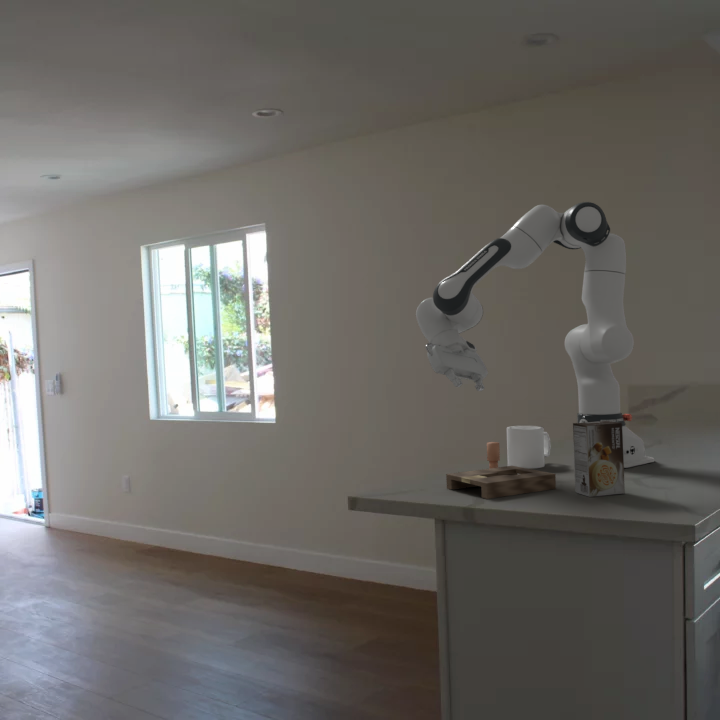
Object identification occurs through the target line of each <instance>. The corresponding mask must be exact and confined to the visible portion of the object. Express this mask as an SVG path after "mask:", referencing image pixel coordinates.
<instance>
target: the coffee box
mask: <svg viewBox="0 0 720 720" xmlns="http://www.w3.org/2000/svg"><path fill="white" fill-rule="evenodd" d="M572 431H573V433H572V434H573V438H572V439H573V457H574V458H573V460H574V461H573V463H574V487H575V493H577V494H580V495H583V496H586V497H589V498H595V497H601V496H612V495H622V494H625V492H626V490H625V489H626V487H625V468H624V459H623V434H622V423H618V422H612V421H598V422H583V423H577V422H572Z"/></svg>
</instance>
